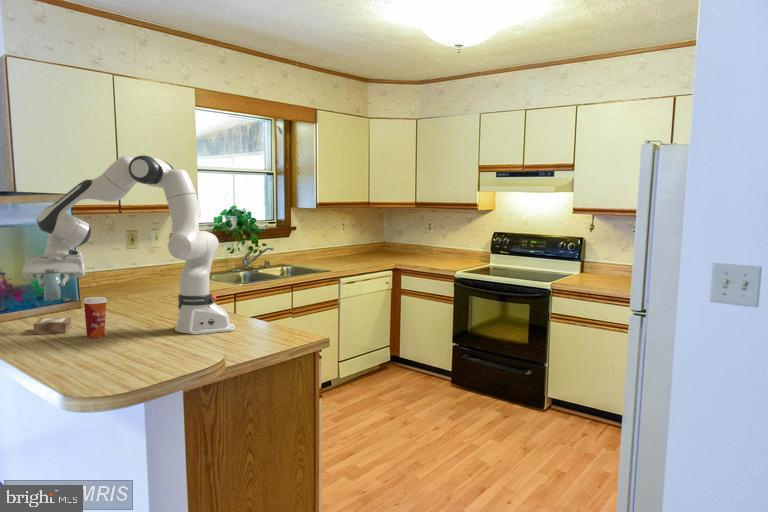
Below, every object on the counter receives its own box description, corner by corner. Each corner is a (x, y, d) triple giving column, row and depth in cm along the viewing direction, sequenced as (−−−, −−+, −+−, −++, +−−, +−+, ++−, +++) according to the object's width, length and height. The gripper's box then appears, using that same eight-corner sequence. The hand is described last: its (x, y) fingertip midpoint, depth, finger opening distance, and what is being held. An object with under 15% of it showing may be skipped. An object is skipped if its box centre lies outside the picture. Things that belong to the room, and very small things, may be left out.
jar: (62, 298, 196) (61, 268, 195) (58, 300, 191) (58, 270, 190) (46, 298, 194) (45, 269, 193) (42, 300, 189) (41, 270, 188)
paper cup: (97, 339, 184) (96, 300, 182) (78, 337, 185) (77, 299, 184) (112, 334, 191) (112, 297, 190) (94, 333, 193) (94, 296, 192)
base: (71, 327, 200) (70, 317, 200) (65, 333, 191) (65, 322, 190) (41, 328, 196) (40, 318, 196) (33, 334, 187) (33, 323, 187)
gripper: (24, 251, 194) (16, 280, 186) (85, 251, 201) (81, 279, 193) (27, 262, 198) (20, 290, 190) (87, 262, 206) (83, 289, 198)
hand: (51, 285), depth 192 cm, fingers closed on jar, 5 cm apart
